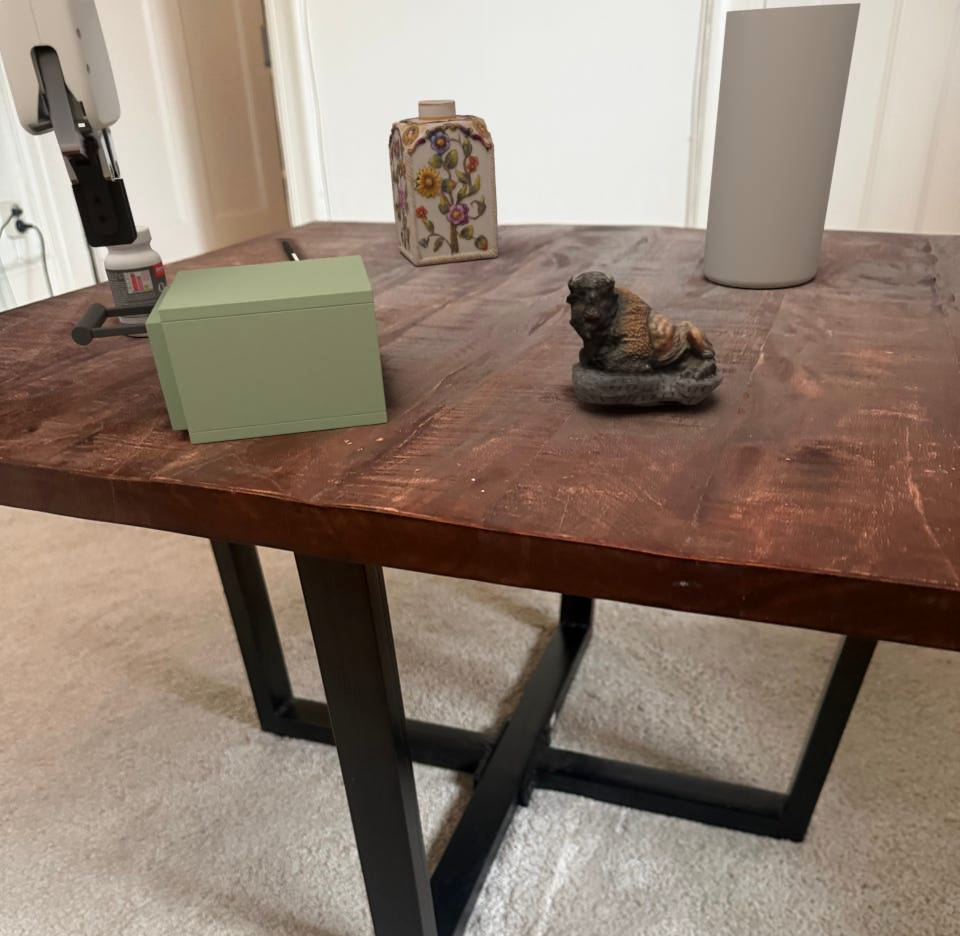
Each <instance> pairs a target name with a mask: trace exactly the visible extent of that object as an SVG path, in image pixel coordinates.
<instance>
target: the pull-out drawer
mask: <svg viewBox="0 0 960 936" xmlns="http://www.w3.org/2000/svg"><path fill="white" fill-rule="evenodd" d="M170 286H171V285H168V286H166V287H165V288H164V290H163V291H162V293H161V295H160V297H159V299H158V301H157V302H156V304H146V305H135V306H124V307H106V306H105V305H104V304H102V303H99V302H95V303H92V304H91V305H90V306H89V307H88V309H86V311H85V313H84V314H83V315H82V316H81V317H80V319H79V320H77V323H76V324H75V325H74V326H73V327H72V328H71V331H70V337H71V339H72V341H73V342H74V343H75V344H76V345H79V346H88V345H90V344H91V342H92V341H93V340H94V339H102V338H111V337H122V336H128V335H133V334H143V333H148V336H147V337H148V340H149V343H150V348H151V352H152V355H153V360H154V363H155V368H156V371H157V375H158V379H159V382H160V386H161V391H162V395H163V397H164V398H163V399H164V402H165V406H166V410H167V414H168V417H169V421H170V425H171V428H172V431H173V432H176V431H188V428H187V424H186V420H185V416H184V412H183V408H182V404H181V400H180V396H179V392H178V388H177V384H176V380H175V376H174V372H173V368H172V364H171V360H170V356H169V352H168V348H167V344H166V340H165V336H164V332H163V328H162V324H161V323H162V322H161V320H160V316H159V312H158V309H159V307H160V305H161V303H162V301H163V299H164V297H165V295H166V294H167V292H168V290H169V288H170ZM141 314H150V315H149V317H148V319H147V321H146V323H142V324H131V325H112V326H103V325H104V324H105V322H106V321H107V319H108V318H118V317H119V316H130V315H141Z"/></svg>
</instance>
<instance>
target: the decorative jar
mask: <svg viewBox="0 0 960 936" xmlns="http://www.w3.org/2000/svg"><path fill="white" fill-rule="evenodd" d="M417 104H418V105H417V109H418V111H417V112H418V116H417V117H410V118H405V119H401V120H399V121H396V122H395V121H394V122H393V123H392V125H391V129H390V135H389V137H388V144H387V146H388V157H389V169H390V178H391V179H390V180H391V191H392V203H393V215H394V222H395V224H394V225H395V231H396V240H397V241H396V243H397V247H398V251H399V252H400V253H401V254H402V256H404V257H405V258H406V259H407V260H409V261H410V262H411V263H412V264H413V265H414V266H415V267H422V266H423V267H424V266H432V265H441V264H449V263H458V262H459V263H460V262H467V261H476V260H485V259H494V258H495V259H496V258H498V256H499V227H498V226H499V225H498V221H499V220H498V201H497V200H498V199H497V198H498V197H497V182H496V163H495V162H496V161H495V160H496V158H495V144H494V141H493V138H492V135H491V132H490V131H489V129H488V127H487V123H486V121H485V119H484V118H482V117H480V116H477V115H473V114H457V111H456V101H455V100H454V99H425V100H419V101H418V103H417Z"/></svg>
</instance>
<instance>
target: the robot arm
mask: <svg viewBox="0 0 960 936" xmlns="http://www.w3.org/2000/svg"><path fill="white" fill-rule="evenodd" d="M101 24H102V23H101V21H100V17H99V14H98V9H97V6H96V2H95V0H0V56H1V60H2V63H3V68H4V71H5V75H6V78H7V79H6V80H7V83H8V86H9V90H10V93H11V96H12V101H13V104H14V107H15V111H16V115H17V117H18V121H19V124H20V126H21V127H22V129H23V130H24V131H26V132H27V133H28V134H29V135H31V136H34V137H35V136H42V135H46V134H49V133H53V132H54V134H55V135H54V136H55V138H56V141H57V144H58V148H59V151H60V153H61V156H62V159H63V164H64V166H65V169H66V171H67V175H68V178H69V180H70V183H71V189H72V193H73V196H74V200H75V203H76V207H77V211H78V214H79V217H80V220H81V224H82V227H83V230H84V234H85V238H86V241H87V243H88V245H89V246H90V247H92V248H106V246H117V245H127V244H132V243H133V242H134V241H135V240H136V239H137V236H138V235H137V231H136V227H135V226H136V223H135V219H134V215H133V212H132V208H131V204H130V200H129V195H128V192H127V188H126V184H125V182H124V178H121V170H120V166H119V161H118V157H117V152H116V148H115V144H114V140H113V135H112V131H111V127H113V125H115V124H116V123H117V122H118V121H119V119H120V118H121V105H120V100H119V95H118V90H117V84H116V81H115V77H114V72H113V68H112V64H111V61H110V56H109V52H108V48H107V44H106V40H105V36H104V32H103V29H102V25H101ZM79 124H84V126H79Z"/></svg>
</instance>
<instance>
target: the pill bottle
mask: <svg viewBox="0 0 960 936" xmlns="http://www.w3.org/2000/svg"><path fill="white" fill-rule="evenodd" d="M135 227H136V231H137V235H138V236H137V239H136V240H135V241H134V242H133V243H132V244H127V245H117V246H106V247H105V248H106V249H107V252H108V253H107V255H106V256H105V257H104V259H103V265H104V270H105V275H106V277H107V281H108V285H109V288H110V293H111V296H112V300H113V303H114V306H115V307H124V306H135V305H146V304H156V302H157V301H158V299H159V297H160V295H161V293H162V291H163V290H164V288H165V287H166V286H169V285H168V280H167V277H166V271H165V269H164V265H163V264H164V263H163V260H162V257H161V255H160V254H159V252H158V251H156V250H155V249H153V248H152V245H151V242H152V240H153V238H152V235H151V231H150V228H149V226H145V225H135ZM149 315H150V314H141V315H130V316H119V317H117V318H118V321H119V324H120V325H131V324H142V323H146V321H147V319H148V317H149ZM120 325H119V326H120ZM127 336H129V337H134V338H141V337H148V333H143V334H133V335H127Z"/></svg>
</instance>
